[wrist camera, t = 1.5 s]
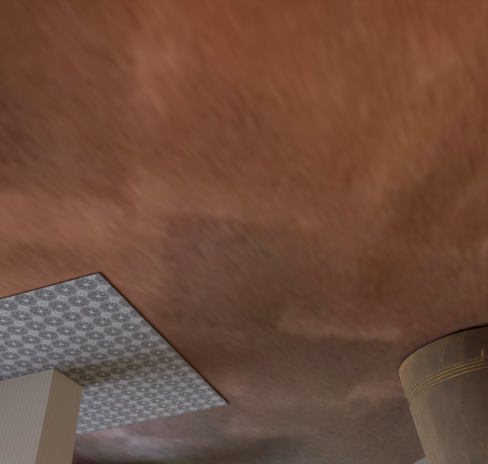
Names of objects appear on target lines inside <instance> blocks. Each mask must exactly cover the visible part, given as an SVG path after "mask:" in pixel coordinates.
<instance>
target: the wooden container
mask: <svg viewBox="0 0 488 464" xmlns="http://www.w3.org/2000/svg"><path fill="white" fill-rule="evenodd" d="M399 375H400V379H401V382H402V385H403V388H404V391H405V395H406V398H407V400H408V402H409V405H410V411H411V414H412V417H413V420H414V423H415V426H416V429H417V432H418V435H419V438H420V441H421V444H422V447H423V449H424V452H425V455H426V458H427V461H428V463H429V464H488V327H481V328H476V329H471V330H466V331H462V332H458V333H455V334H452V335H449V336H446V337H443V338H441V339H438V340H436V341H434V342H431V343H429V344H427V345H425V346H424V347H422V348H420V349H418V350H417V351H415V352H414V353H413V354H411V355H410V356H409V357H408V358H407V359H406V360H405V361H404V362H403V363H402V365H401V367H400V369H399Z"/></svg>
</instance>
